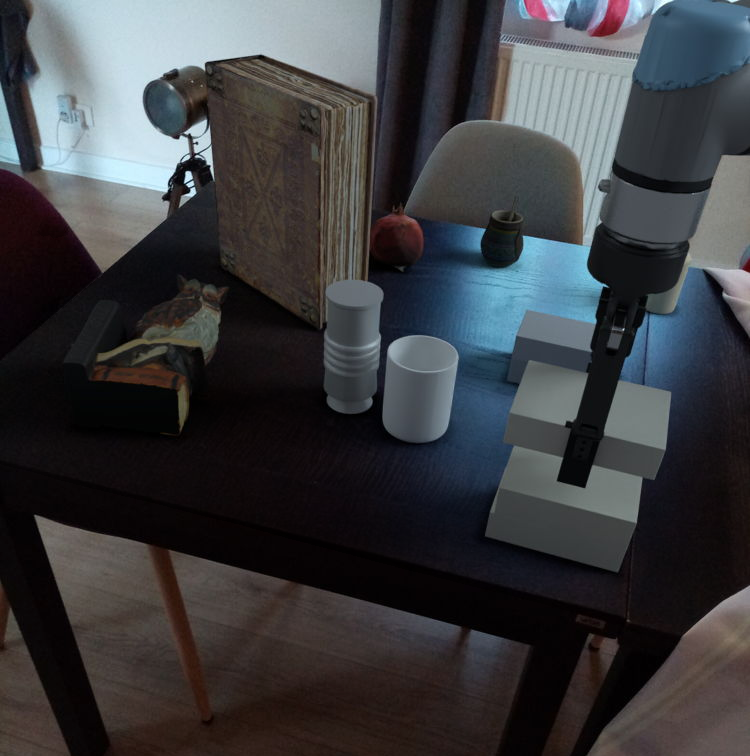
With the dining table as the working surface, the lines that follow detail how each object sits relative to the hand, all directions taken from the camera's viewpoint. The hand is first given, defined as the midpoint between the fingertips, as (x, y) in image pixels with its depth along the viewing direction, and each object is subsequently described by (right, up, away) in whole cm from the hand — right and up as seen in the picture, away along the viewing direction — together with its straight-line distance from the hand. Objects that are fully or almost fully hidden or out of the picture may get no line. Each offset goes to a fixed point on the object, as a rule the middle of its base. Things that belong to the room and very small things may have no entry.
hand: (579, 450), depth 77 cm
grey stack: (+6, +12, +30) cm, 33 cm away
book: (-33, +28, +45) cm, 63 cm away
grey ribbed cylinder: (-23, +8, +23) cm, 34 cm away
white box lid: (0, +2, -2) cm, 2 cm away
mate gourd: (+1, +36, +58) cm, 68 cm away
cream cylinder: (+25, +26, +48) cm, 60 cm away
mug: (-15, +5, +22) cm, 27 cm away
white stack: (-1, -8, +7) cm, 11 cm away
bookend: (-48, +11, +25) cm, 55 cm away
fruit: (-17, +35, +54) cm, 67 cm away
